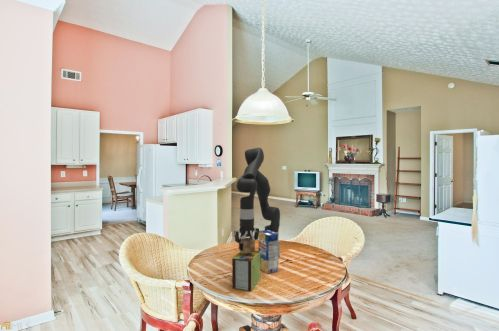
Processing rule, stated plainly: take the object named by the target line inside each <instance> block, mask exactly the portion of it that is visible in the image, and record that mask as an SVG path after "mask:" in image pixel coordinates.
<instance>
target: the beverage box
mask: <svg viewBox="0 0 499 331" xmlns="http://www.w3.org/2000/svg"><path fill="white" fill-rule="evenodd" d="M257 251H260V271H261V270H262V271H263V272H265V273H266V274H267V275H270V274H274V273H279V257H278V233H275V232H273V231H270V230H265V229H264V230H259V235H258V247H257Z"/></svg>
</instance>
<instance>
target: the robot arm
mask: <svg viewBox="0 0 499 331" xmlns="http://www.w3.org/2000/svg"><path fill="white" fill-rule="evenodd" d="M244 158H245V161H246V165H247V166H246V168H244V172H243V174H242V175H241V176H240V178H239V179H238V180H237V182H236V190H237V191H238V192H240V193H249V194H248V195H247V196H243V197H240V199H239V229H238V230H234V231H233V233H234V240H235V242H236V243H237V244H238V250H239V249H240V250H241V251H243V244H242V243H243V240H244V239H245V238H248V237H249V238H252V239H254V240H255V241H259V231H260V228H258V227H255V210H254V209H255V208H254V206H255V205H254V203H255V202H254V201H255V197H256V196H255V195H256V194H257V197H258V201H259V206H260V212H261V215H262V218H263V219H264V220H266V221H270V224H269V225H265V227H264V230H270V231H273V232H275V233H278V258H279V257H280V256H281V255H280V254H281V253H280V252H281V247H280V246H281V243H280V242H279V237H280V236H279V231H280V230H279V229H280V222H281V212H280V208H279V207H278V206H277V207H276V206H270V205H269V204H270V203H269V201H268V199H269V196H270V192H271V187H270V183H269V180H268V178H267V177H266V176H265V175H264V174H263V173H262V172H261V171H259V169H260V167H261V166H262V164H263V162H264V159H265V153H264V150H263V149H262V148H261V147H254V148H251V149H246V150H245V151H244ZM240 250H239V251H240Z"/></svg>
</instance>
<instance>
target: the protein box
mask: <svg viewBox="0 0 499 331" xmlns="http://www.w3.org/2000/svg"><path fill="white" fill-rule="evenodd" d="M231 259H232V261H231V262H232V264H231V266H232V269H231V270H232V274H231V277H232V278H231V279H232V280H231V283H232V284H231V285H232V286H231V288H232V289H234V290H241V291H247V292H252V291H253V290H254V288H255V287H256V286H257V284H258V283H259V281H260V280H261V269H260V251H258V250H256V249H255V252H250V253H245V254H244V253H243V252H241V251H240V250H239V252H238V253H236V254H235V255H234V256H233V257H232V258H231Z"/></svg>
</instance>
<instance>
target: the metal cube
mask: <svg viewBox="0 0 499 331" xmlns="http://www.w3.org/2000/svg"><path fill="white" fill-rule="evenodd" d="M242 244H243V251H241V250H240V249H239V248H238V250H239V252H240V251H241V252H243V253H244V254H245V253H250V252H255V250H256V240H254V239H252V238H250V237H245V239H244V240H243V243H242Z"/></svg>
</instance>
